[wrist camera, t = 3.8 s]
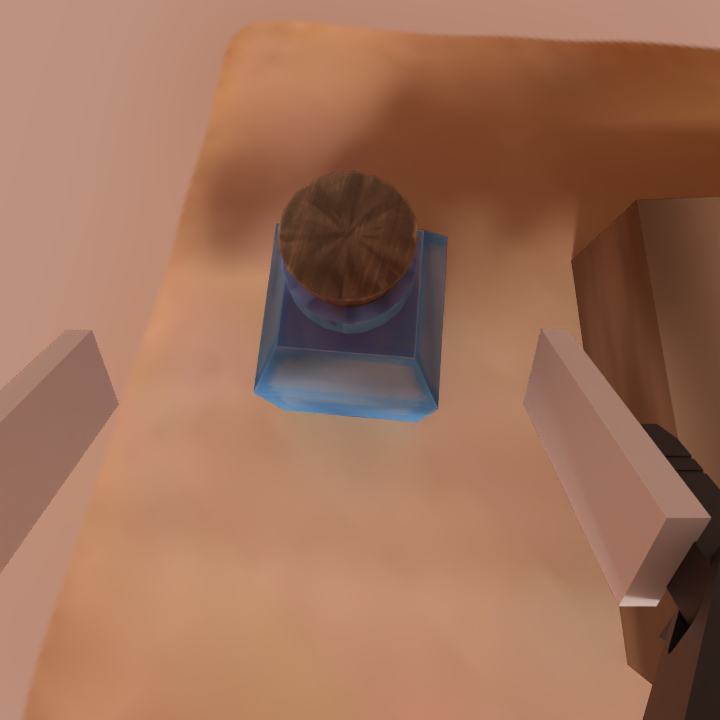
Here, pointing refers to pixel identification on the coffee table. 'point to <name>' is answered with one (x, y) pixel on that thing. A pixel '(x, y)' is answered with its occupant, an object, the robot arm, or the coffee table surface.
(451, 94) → the coffee table surface
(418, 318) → the perfume bottle
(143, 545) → the coffee table surface
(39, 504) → the robot arm
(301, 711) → the coffee table surface
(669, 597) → the walnut riser block
